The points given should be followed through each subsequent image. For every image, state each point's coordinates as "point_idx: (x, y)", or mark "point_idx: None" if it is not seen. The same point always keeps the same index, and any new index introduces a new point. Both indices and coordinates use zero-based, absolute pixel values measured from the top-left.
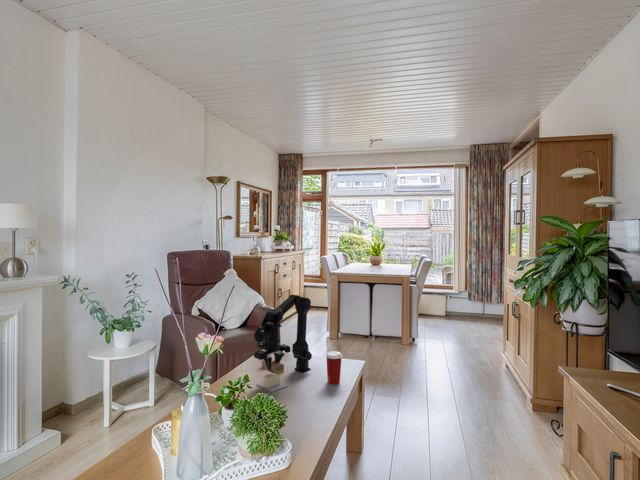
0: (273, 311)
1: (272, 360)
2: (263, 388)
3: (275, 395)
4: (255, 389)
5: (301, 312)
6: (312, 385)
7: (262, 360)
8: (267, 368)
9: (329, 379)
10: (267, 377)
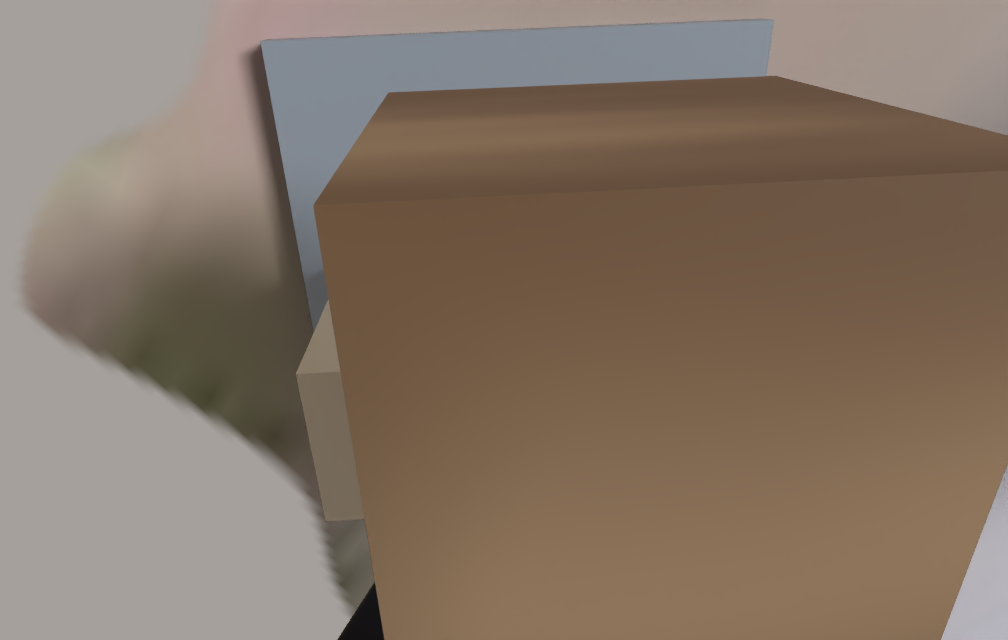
0: None
1: (928, 628)
2: (313, 301)
3: (346, 597)
4: (152, 228)
5: None
6: (968, 629)
7: (355, 208)
8: (373, 587)
9: None
10: (327, 514)
